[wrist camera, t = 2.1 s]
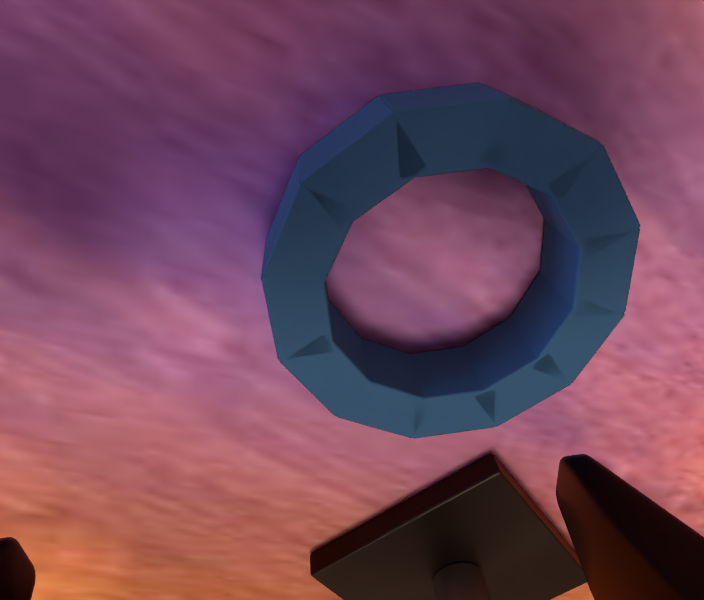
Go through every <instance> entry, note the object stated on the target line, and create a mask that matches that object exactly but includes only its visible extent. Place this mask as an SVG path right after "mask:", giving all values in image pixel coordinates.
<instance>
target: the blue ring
mask: <svg viewBox="0 0 704 600" xmlns="http://www.w3.org/2000/svg"><path fill="white" fill-rule="evenodd" d="M485 168H491V169H493V170H496V171H498V172H500V173H502V174H504V175H506V176H509V177H511V178H513V179H515V180H517V181H519V182H522V183H524V184H525V185H526V187H527V188H528V190H529V192H530V194H531V195H532V197H533V199H534V201H535V203H536V204H537V206H538V208H539V210H540V211H541V213H542V215H543V217H544V219H545V224H544V236H543V249H542V261H541V271H540V273H539V274H538V276H537V277H536V279H535V280H534V282H533V283H532V285H531V286H530V288H529V289H528V291H527V292H526V294H525V295H524V297H523V298H522V300H521V301H520V303H519V304H518V306H517V307H516V309H515V310H514V312H513V313H512V315H511V316H510V318H508V319H507V320H505V321H504V322H502V323H500V324H499V325H497V326H495V327H494V328H492V329H491V330H489V331H487V332H486V333H484V334H482V335H481V336H479V337H478V338H476V339H474V340H473V341H471V342H469V343H468V344H466V345H465V346H463V347H457V348H450V349H442V350H435V351H428V352H420V353H413V354H408V353H405V352H402V351H399V350H396V349H393V348H390V347H387V346H384V345H381V344H378V343H375V342H372V341H369V340H366V339H363V338H361V337H360V336H359V335H358V333H357V332H356V331H355V330H354V329H353V328H352V327H351V325H350V324H349V323H348V322H347V321H346V320H345V319H344V317H343V316H342V315H341V314H340V313H339V312H338V311H337V310H336V308H335V307H334V306H333V305H332V304H331V303H330V302H329V300H328V293H327V286H326V278H327V276H328V273H329V271H330V269H331V267H332V265H333V263H334V261H335V259H336V256H337V254H338V252H339V250H340V248H341V246H342V244H343V241H344V239H345V237H346V235H347V233H348V231H349V229H350V227H351V224H352V222H353V221H354V220H356V219H357V218H358V217H360V216H361V215H363V214H364V213H365V212H367V211H368V210H370V209H371V208H372V207H374V206H375V205H377V204H378V203H379V202H381V201H382V200H384V199H385V198H386V197H388V196H389V195H391V194H392V193H393V192H395V191H396V190H398V189H399V188H400V187H402V186H403V185H405V184H406V183H407V182H409V181H410V180H412V179H413V178H414V177H421V176H429V175H437V174H445V173H453V172H461V171H469V170H477V169H485ZM639 227H640V224H639V221H638V219H637V217H636V215H635V213H634V211H633V208H632V206H631V204H630V202H629V200H628V198H627V195H626V193H625V191H624V189H623V187H622V185H621V182H620V180H619V178H618V176H617V174H616V171H615V169H614V167H613V165H612V163H611V161H610V158H609V156H608V154H607V152H606V150H605V148H604V145H603V144H601V143H600V142H599V141H597V140H595V139H593V138H592V137H590V136H588V135H586V134H584V133H582V132H580V131H578V130H576V129H574V128H572V127H570V126H568V125H566V124H564V123H562V122H560V121H558V120H556V119H554V118H552V117H550V116H549V115H547V114H545V113H543V112H541V111H539V110H537V109H535V108H533V107H531V106H529V105H527V104H525V103H523V102H521V101H519V100H517V99H515V98H513V97H511V96H509V95H507V94H504V93H502V92H500V91H497V90H495V89H493V88H491V87H488V86H486V85H484V84H480V83H472V84H464V85H455V86H447V87H439V88H431V89H422V90H414V91H406V92H397V93H389V94H381V95H380V96H377V97H376V98H374V99H373V100H372V101H370V102H369V103H368V104H367V105H365V106H364V107H363V108H361V109H360V110H359V111H357V112H356V113H355V114H354V115H352V116H351V117H350V118H348V119H347V120H346V121H344V122H343V123H342V124H341V125H339V126H338V127H337V128H335V129H334V130H333V131H331V132H330V133H329V134H328V135H326V136H325V137H324V138H322V139H321V140H320V141H318V142H317V143H316V144H315V145H313V146H312V147H311V148H309V149H308V150H307V151H305V152H304V153H303V154H302V155H300V158H299V159H298V160H297V163H296V165H295V168H294V170H293V173H292V175H291V178H290V180H289V183H288V185H287V188H286V190H285V193H284V195H283V198H282V200H281V203H280V205H279V208H278V210H277V213H276V215H275V218H274V220H273V223H272V225H271V228H270V230H269V233H268V235H267V238H266V243H265V251H264V259H263V267H262V275H261V280H262V284H263V289H264V294H265V299H266V304H267V309H268V313H269V318H270V323H271V328H272V333H273V338H274V343H275V347H276V352H277V357H278V359H279V361H280V362H281V363H282V364H283V365H284V366H285V367H286V368H287V369H288V370H289V371H290V372H291V373H292V374H293V375H294V376H295V377H296V378H297V379H298V380H299V381H300V382H301V383H302V384H303V385H304V386H305V387H306V388H307V389H308V390H309V391H310V392H311V393H312V394H313V395H314V396H315V397H316V398H317V399H318V400H319V401H320V402H321V403H322V404H323V405H324V406H325V407H326V408H327V409H328V410H329V411H330V412H331V413H332V414H333V415H335V416H337V417H339V418H342V419H346V420H349V421H353V422H356V423H360V424H363V425H367V426H370V427H374V428H377V429H381V430H384V431H388V432H392V433H395V434H399V435H402V436H406V437H409V438H421V437H428V436H435V435H442V434H449V433H456V432H463V431H470V430H478V429H485V428H492V427H495V426H499V425H500V424H502V423H504V422H506V421H507V420H509V419H511V418H513V417H514V416H516V415H518V414H520V413H521V412H523V411H525V410H527V409H528V408H530V407H532V406H534V405H536V404H537V403H539V402H541V401H543V400H544V399H546V398H548V397H550V396H551V395H553V394H555V393H557V392H558V391H560V390H562V389H564V388H565V387H567V386H569V385H570V384H571V383H573V381H574V380H575V379H576V377H577V376H578V375H579V374H580V372H581V371H582V370H583V368H584V367H585V366H586V364H587V363H588V362H589V361H590V359H591V358H592V357H593V355H594V354H595V353H596V351H597V350H598V349H599V348H600V346H601V345H602V344H603V342H604V341H605V340H606V338H607V337H608V336H609V335H610V333H611V332H612V331H613V329H614V328H615V327H616V326H617V324H618V323H619V322H620V320H621V319H622V318H623V316H624V312H625V310H626V304H627V299H628V293H629V288H630V282H631V276H632V271H633V265H634V259H635V254H636V248H637V243H638V237H639V231H640V229H639Z"/></svg>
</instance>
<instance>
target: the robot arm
mask: <svg viewBox="0 0 704 600" xmlns="http://www.w3.org/2000/svg"><path fill="white" fill-rule="evenodd" d="M556 497H557V502H558V505H559V508H560V510H561V513H562V516H563V518H564V521H565V524H566V527H567V529H568V532H569V535H570V537H571V540H572V543H573V545H574V548H575V551H576V553H577V556H578V559H579V561H580V564H581V567H582V569H583V572H584V575H585V577H586V580H587V582H588V585H589V588H590V590H591V593H592V595H593V597H594V599H595V600H704V537H703V536H701V535H700V534H699V533H697V532H696V531H694V530H693V529H692V528H690V527H689V526H687V525H686V524H685V523H683V522H682V521H680V520H679V519H678V518H676V517H675V516H673V515H672V514H670V513H669V512H668V511H666V510H665V509H663V508H662V507H661V506H659V505H658V504H656V503H655V502H654V501H652V500H651V499H649V498H648V497H647V496H645V495H644V494H642V493H641V492H640V491H638V490H637V489H635V488H634V487H632V486H631V485H630V484H628V483H627V482H625V481H624V480H623V479H621V478H620V477H618V476H617V475H616V474H614V473H613V472H611V471H610V470H609V469H607V468H606V467H604V466H603V465H601V464H600V463H599V462H597V461H596V460H594V459H593V458H592V457H590V456H588V455H585V454H579V455H572V456H565V457H563V458H562V459H561V460H560V463H559V471H558V478H557V486H556ZM34 585H35V569H34V566H33V564H32V563H31V561H30V560H29V558H28V556H27V555H26V553H25V552H24V550H23V549H22V547H21V545H20V544H19V542H18V541H17V540H16V539H14V538H12V537H6V538H0V600H31V597H32V593H33V589H34Z"/></svg>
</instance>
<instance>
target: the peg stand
mask: <svg viewBox="0 0 704 600" xmlns="http://www.w3.org/2000/svg"><path fill="white" fill-rule="evenodd" d="M310 569H311V576H312V577H314V578H315V579H316V580H318V581H319V582H321V583H322V584H323V585H325V586H326V587H327V588H329V589H330V590H331V591H333V592H334V593H335V594H337V595H338V596H339V597H341V598H342V599H343V600H550V599H553V598H555V597H557V596H559V595H561V594H563V593H565V592H567V591H569V590H571V589H574V588H576V587H578V586H580V585H582V584H584V583H586V582H587V580H586V577H585V575H584V572H583V569H582V567H581V564H580V561H579V559H578V556H577V554H576V553H575V552H574V550H573V549H572V548H571V547H570V546H569V544H568V543H567V542H566V541H565V540H564V538H563V537H562V536H561V535H560V534H559V532H558V531H557V530H556V529H555V528H554V526H553V525H552V524H551V523H550V522H549V520H548V519H547V518H546V517H545V516H544V514H543V513H542V512H541V511H540V510H539V509H538V507H537V506H536V505H535V504H534V503H533V501H532V500H531V499H530V498H529V497H528V495H527V494H526V493H525V492H524V491H523V489H522V488H521V487H520V486H519V485H518V483H517V482H516V481H515V480H514V479H513V477H512V476H511V475H510V474H509V473H508V471H507V470H506V469H505V468H504V467H503V465H502V464H501V463H500V462H499V461H498V459H497V458H496V457H495V456H494V455H493V454H489V455H488V456H486V457H484V458H482V459H480V460H479V461H477V462H475V463H473V464H471V465H470V466H468V467H466V468H464V469H462V470H461V471H459V472H457V473H455V474H453V475H452V476H450V477H448V478H446V479H445V480H443V481H441V482H439V483H437V484H436V485H434V486H432V487H430V488H428V489H427V490H425V491H423V492H421V493H419V494H418V495H416V496H414V497H412V498H410V499H409V500H407V501H405V502H403V503H402V504H400V505H398V506H396V507H394V508H393V509H391V510H389V511H387V512H385V513H384V514H382V515H380V516H378V517H376V518H375V519H373V520H371V521H369V522H367V523H366V524H364V525H362V526H360V527H359V528H357V529H355V530H353V531H351V532H350V533H348V534H346V535H344V536H342V537H341V538H339V539H337V540H335V541H333V542H332V543H330V544H328V545H326V546H324V547H323V548H321V549H319V550H317V551H316V552H314V553H312V554H311V555H310Z"/></svg>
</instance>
